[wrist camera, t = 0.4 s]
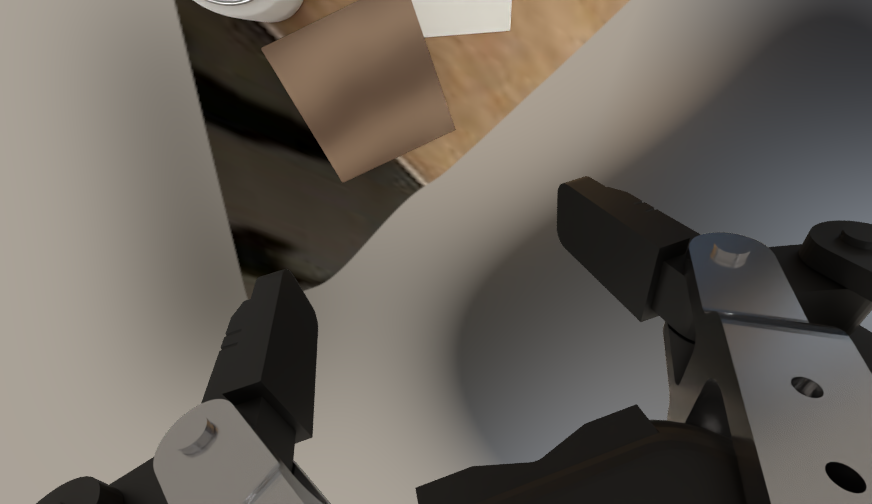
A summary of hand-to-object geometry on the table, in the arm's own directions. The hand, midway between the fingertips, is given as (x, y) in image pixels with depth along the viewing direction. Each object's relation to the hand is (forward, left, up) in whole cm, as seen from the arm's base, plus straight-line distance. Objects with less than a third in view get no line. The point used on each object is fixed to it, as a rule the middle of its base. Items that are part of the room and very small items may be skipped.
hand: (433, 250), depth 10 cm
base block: (-1, 0, -25) cm, 25 cm away
